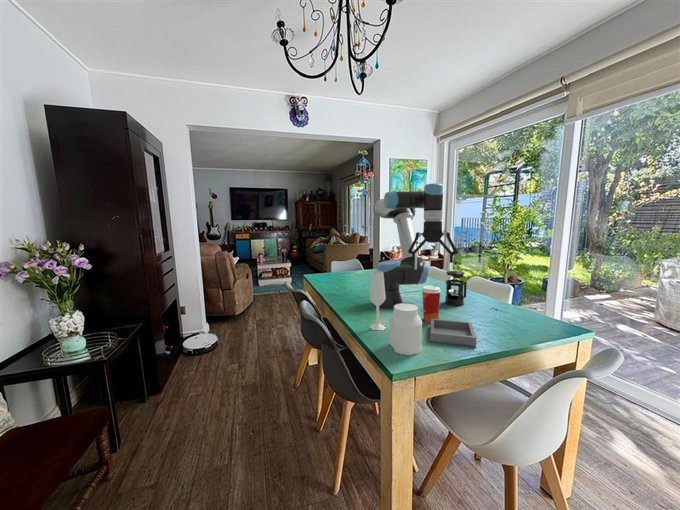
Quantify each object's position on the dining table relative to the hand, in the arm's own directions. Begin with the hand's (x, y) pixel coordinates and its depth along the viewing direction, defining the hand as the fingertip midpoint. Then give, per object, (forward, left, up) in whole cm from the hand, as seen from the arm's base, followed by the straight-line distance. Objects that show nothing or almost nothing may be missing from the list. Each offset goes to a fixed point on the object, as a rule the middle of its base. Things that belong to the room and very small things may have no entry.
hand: (431, 269), depth 120 cm
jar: (-8, -30, -23) cm, 39 cm away
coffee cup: (0, 0, -23) cm, 23 cm away
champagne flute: (-21, -15, -23) cm, 35 cm away
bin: (+8, -15, -23) cm, 29 cm away
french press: (+12, +29, -23) cm, 39 cm away
